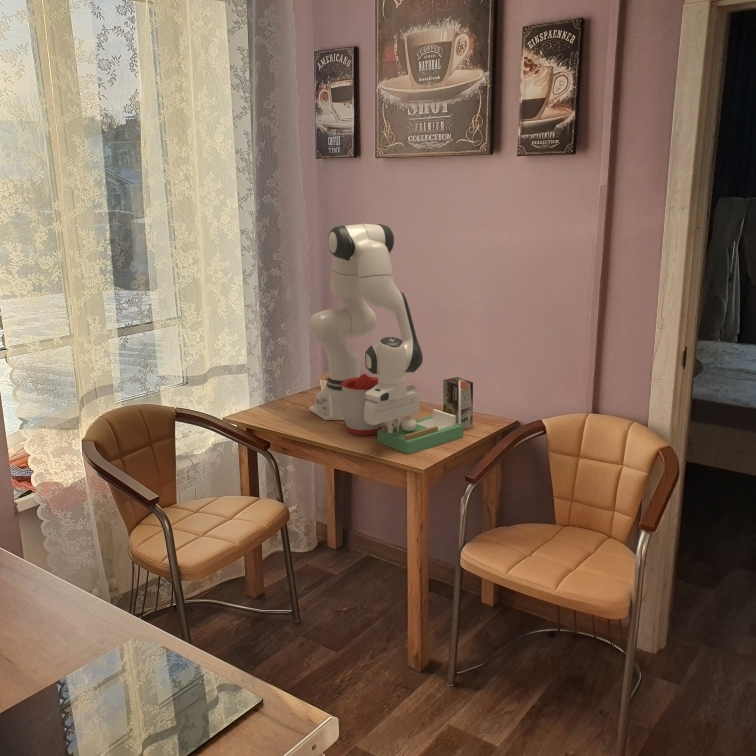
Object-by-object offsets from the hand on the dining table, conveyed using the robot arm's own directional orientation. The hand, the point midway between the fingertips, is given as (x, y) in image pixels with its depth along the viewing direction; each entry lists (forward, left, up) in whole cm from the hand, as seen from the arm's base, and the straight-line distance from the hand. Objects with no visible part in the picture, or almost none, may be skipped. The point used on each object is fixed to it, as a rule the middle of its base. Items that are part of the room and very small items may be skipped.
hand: (393, 432), depth 245 cm
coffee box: (-2, +31, -6) cm, 31 cm away
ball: (0, +7, -1) cm, 7 cm away
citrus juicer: (-19, +5, -6) cm, 21 cm away
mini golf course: (0, +12, -5) cm, 13 cm away
